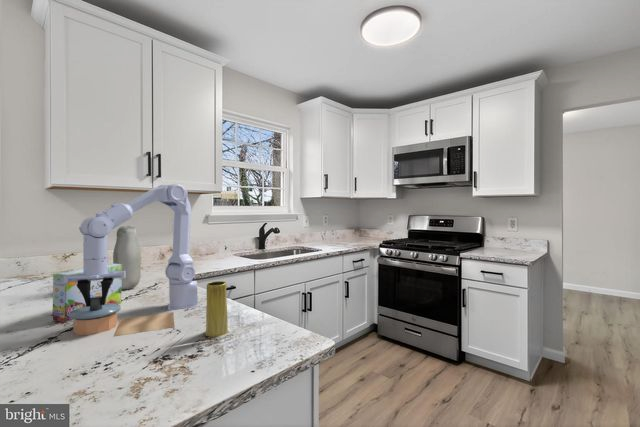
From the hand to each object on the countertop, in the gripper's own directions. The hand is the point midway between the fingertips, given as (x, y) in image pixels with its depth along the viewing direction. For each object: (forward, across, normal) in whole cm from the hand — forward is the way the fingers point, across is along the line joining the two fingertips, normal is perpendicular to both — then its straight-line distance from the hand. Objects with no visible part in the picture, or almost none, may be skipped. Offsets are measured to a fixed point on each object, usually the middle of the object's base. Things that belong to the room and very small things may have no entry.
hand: (96, 305), depth 91 cm
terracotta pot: (+7, 0, 0) cm, 7 cm away
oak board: (+7, +13, -2) cm, 15 cm away
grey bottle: (+7, +3, +52) cm, 53 cm away
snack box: (+8, -5, +21) cm, 23 cm away
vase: (+7, +31, -19) cm, 37 cm away
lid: (+2, 0, 0) cm, 2 cm away
